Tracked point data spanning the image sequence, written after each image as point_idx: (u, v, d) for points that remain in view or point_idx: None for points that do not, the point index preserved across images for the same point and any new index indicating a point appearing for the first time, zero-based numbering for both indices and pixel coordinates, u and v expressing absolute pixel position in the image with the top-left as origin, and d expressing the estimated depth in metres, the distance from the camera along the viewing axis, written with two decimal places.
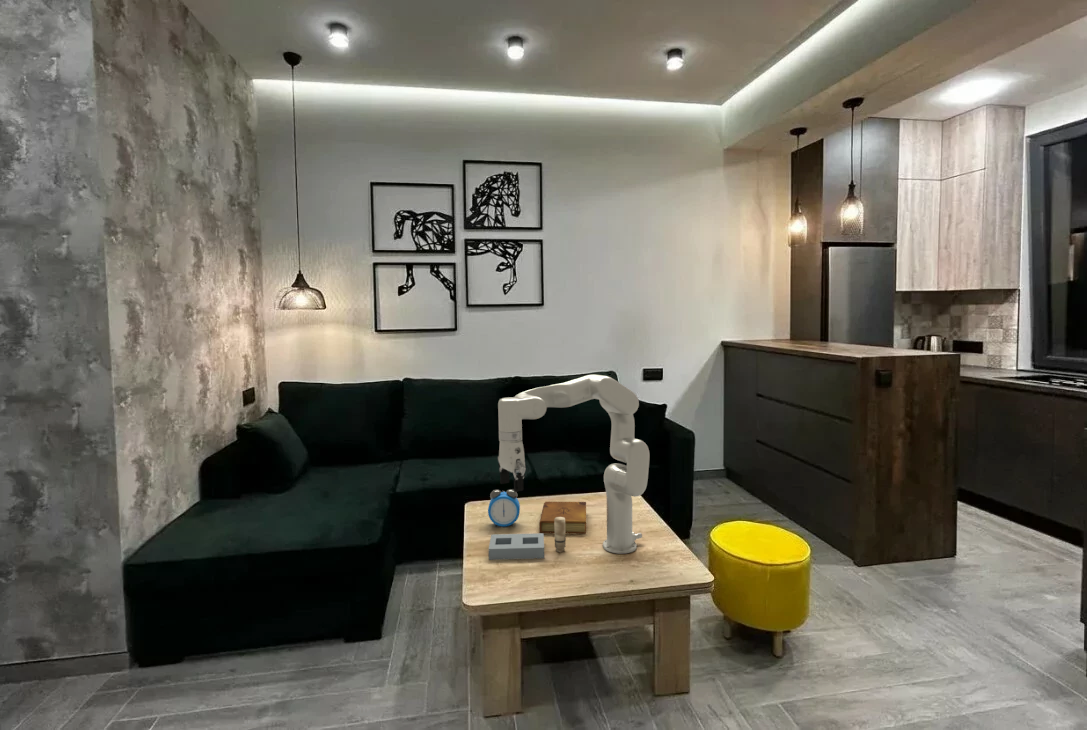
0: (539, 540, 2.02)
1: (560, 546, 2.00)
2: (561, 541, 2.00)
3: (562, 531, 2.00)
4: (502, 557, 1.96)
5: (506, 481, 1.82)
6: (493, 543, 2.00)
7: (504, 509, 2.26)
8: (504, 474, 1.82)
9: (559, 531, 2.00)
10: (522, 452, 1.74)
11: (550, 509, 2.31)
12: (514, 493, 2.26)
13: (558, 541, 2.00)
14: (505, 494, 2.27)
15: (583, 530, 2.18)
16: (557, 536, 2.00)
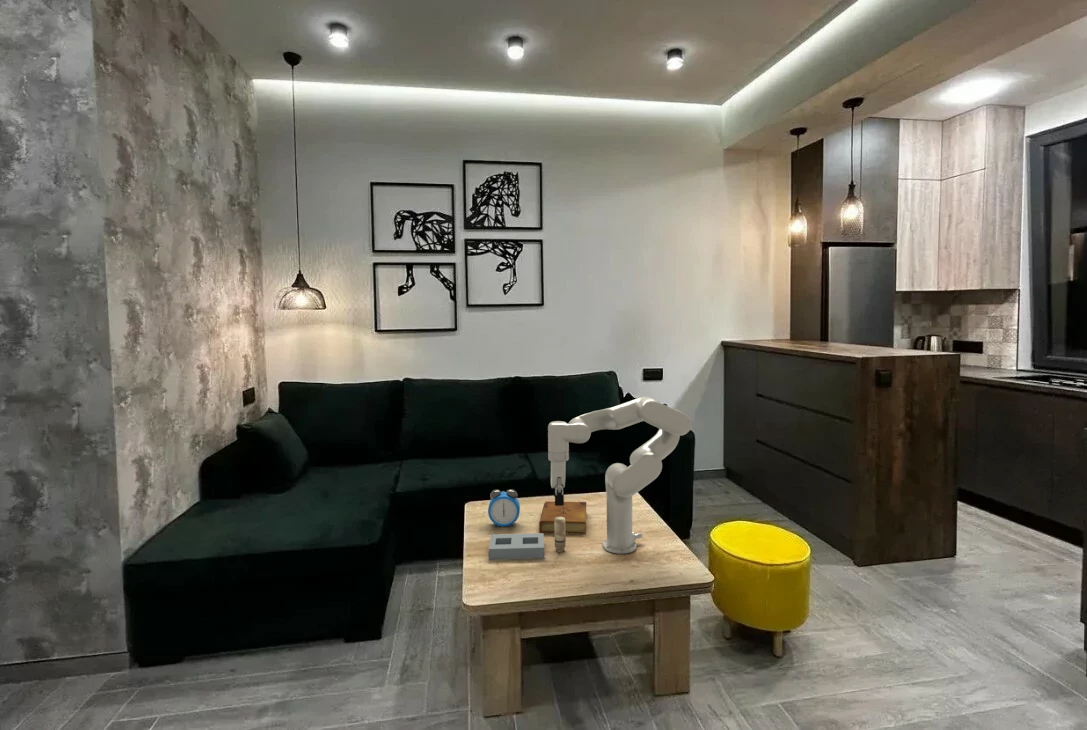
0: (539, 540, 2.02)
1: (560, 546, 2.00)
2: (561, 541, 2.00)
3: (562, 531, 2.00)
4: (502, 557, 1.96)
5: None
6: (493, 543, 2.00)
7: (504, 509, 2.26)
8: None
9: (559, 531, 2.00)
10: None
11: (550, 509, 2.31)
12: (514, 493, 2.26)
13: (558, 541, 2.00)
14: (505, 494, 2.27)
15: (583, 530, 2.18)
16: (557, 536, 2.00)
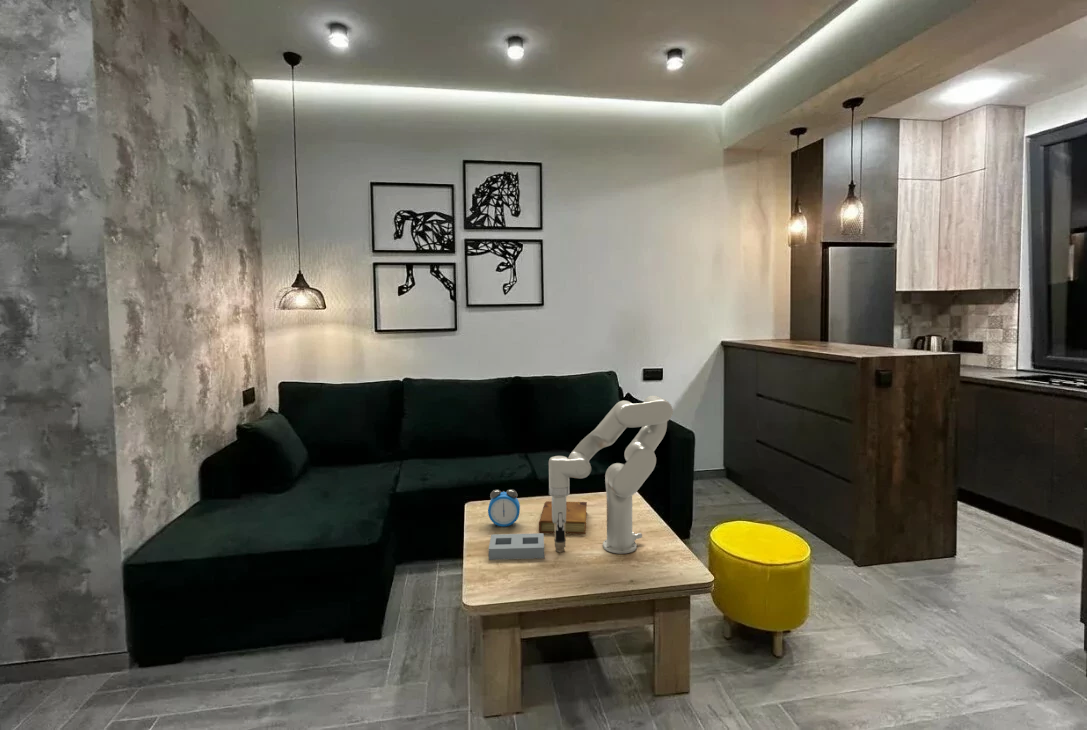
0: (539, 540, 2.02)
1: (560, 546, 2.00)
2: (561, 541, 2.00)
3: None
4: (502, 557, 1.96)
5: None
6: (493, 543, 2.00)
7: (504, 509, 2.26)
8: None
9: None
10: None
11: (550, 509, 2.31)
12: (514, 493, 2.26)
13: (558, 541, 2.00)
14: (505, 494, 2.27)
15: (582, 530, 2.18)
16: None
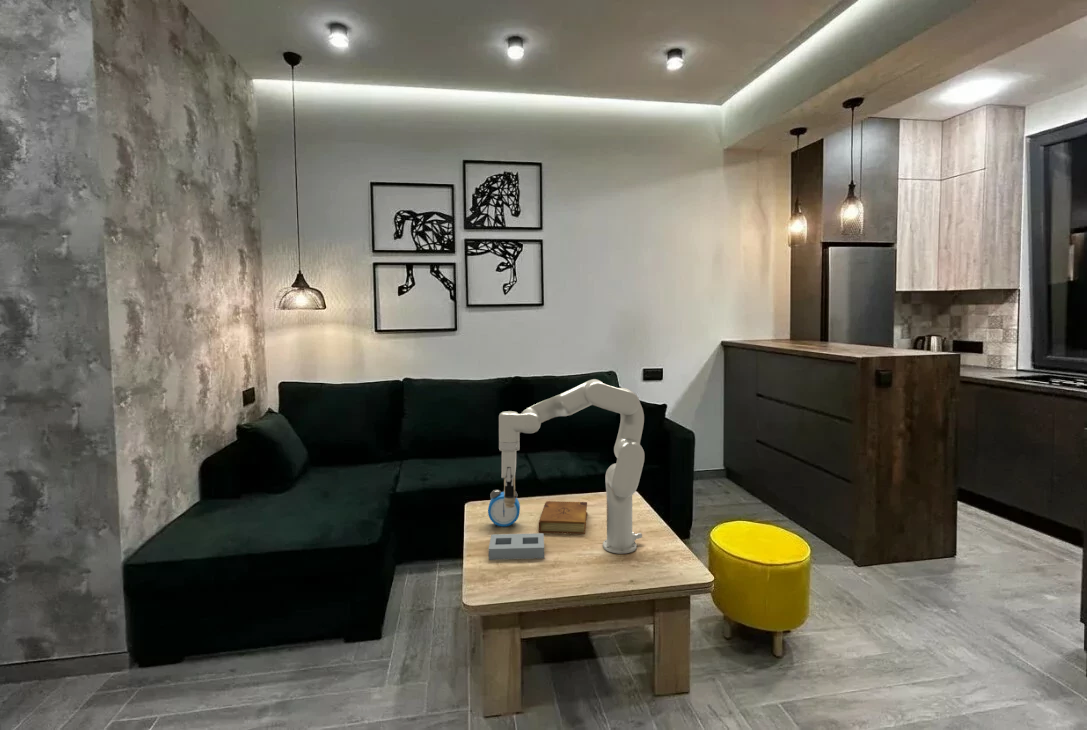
0: (539, 540, 2.02)
1: (509, 502, 1.99)
2: (510, 497, 1.98)
3: None
4: (502, 557, 1.96)
5: None
6: (493, 543, 2.00)
7: (504, 509, 2.26)
8: None
9: None
10: None
11: (550, 509, 2.31)
12: None
13: (507, 497, 1.98)
14: None
15: (582, 530, 2.18)
16: None
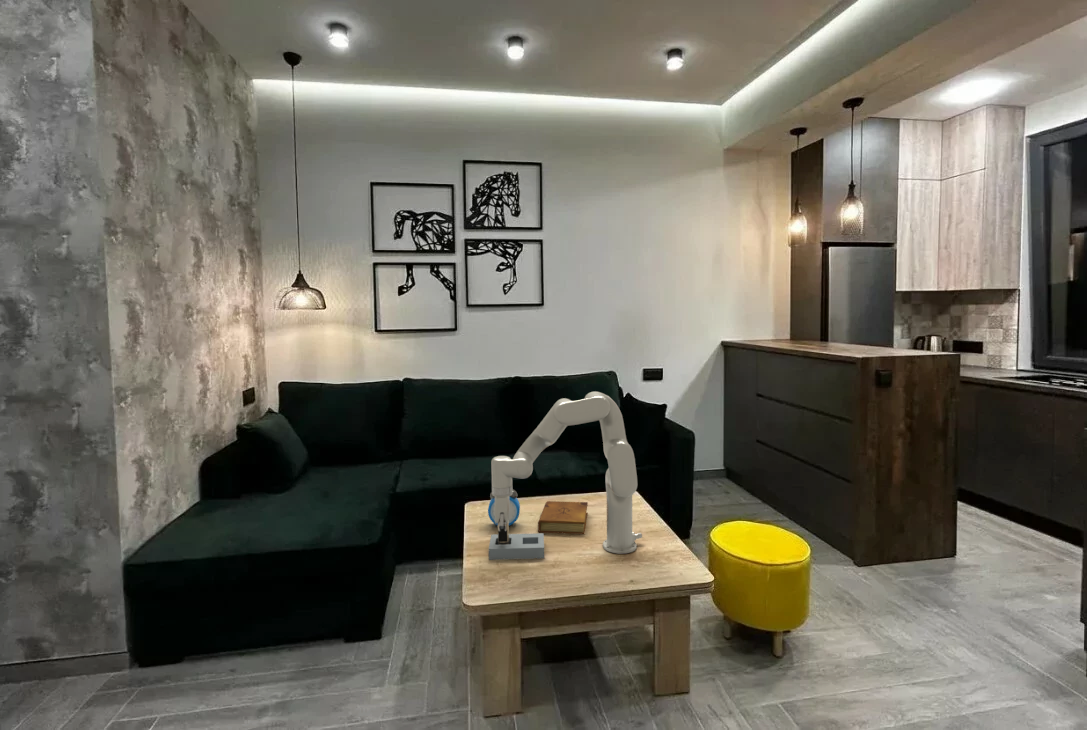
0: (539, 540, 2.02)
1: None
2: (504, 542, 2.00)
3: None
4: (502, 557, 1.96)
5: None
6: (493, 543, 2.00)
7: None
8: None
9: None
10: None
11: (551, 509, 2.31)
12: (514, 493, 2.26)
13: (501, 542, 2.00)
14: None
15: (582, 530, 2.18)
16: None
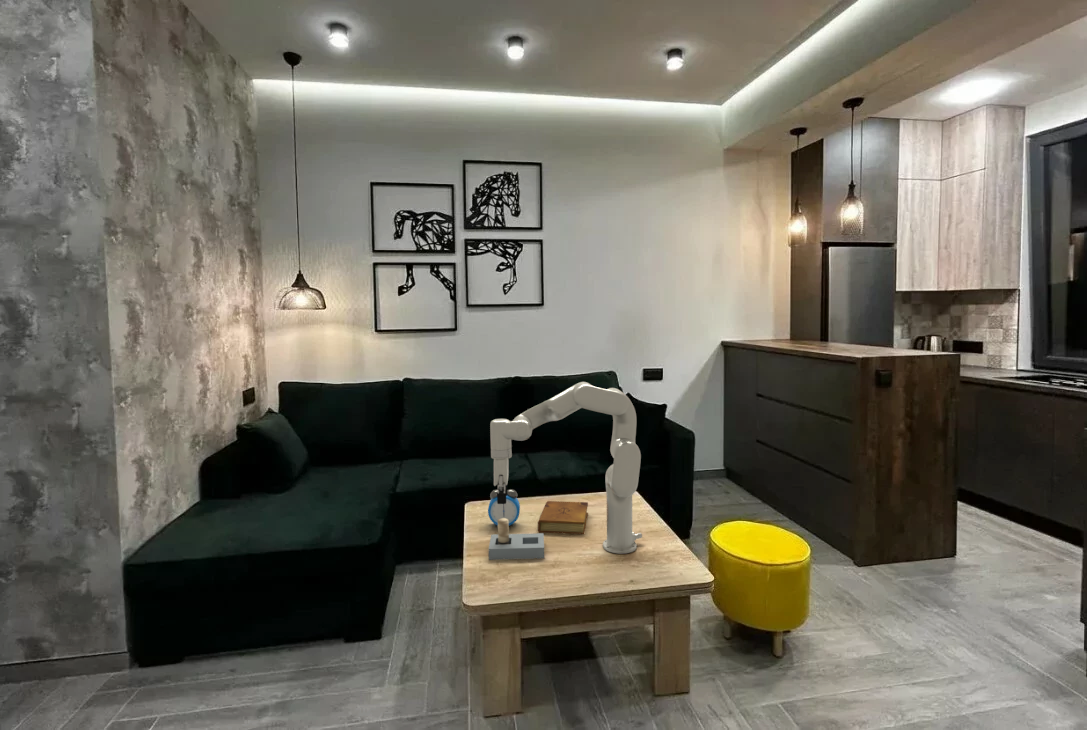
0: (539, 540, 2.02)
1: None
2: (504, 542, 2.00)
3: (505, 532, 2.00)
4: (502, 557, 1.96)
5: None
6: (493, 543, 2.00)
7: (504, 509, 2.26)
8: None
9: (502, 533, 2.00)
10: None
11: (551, 509, 2.31)
12: (514, 493, 2.26)
13: (501, 542, 2.00)
14: None
15: (581, 531, 2.18)
16: (500, 537, 2.00)
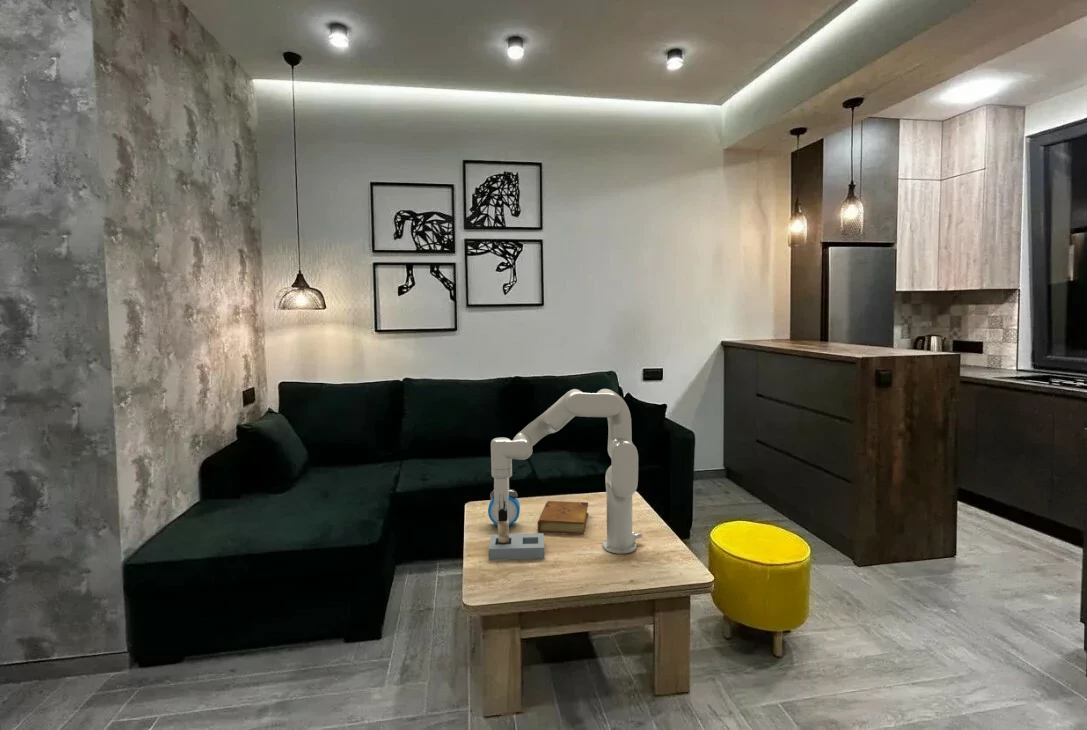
0: (539, 540, 2.02)
1: None
2: (504, 542, 2.00)
3: (505, 532, 2.00)
4: (502, 557, 1.96)
5: None
6: (493, 543, 2.00)
7: None
8: None
9: (502, 533, 2.00)
10: None
11: (551, 509, 2.31)
12: (514, 493, 2.26)
13: (501, 542, 2.00)
14: None
15: (581, 531, 2.18)
16: (500, 537, 2.00)
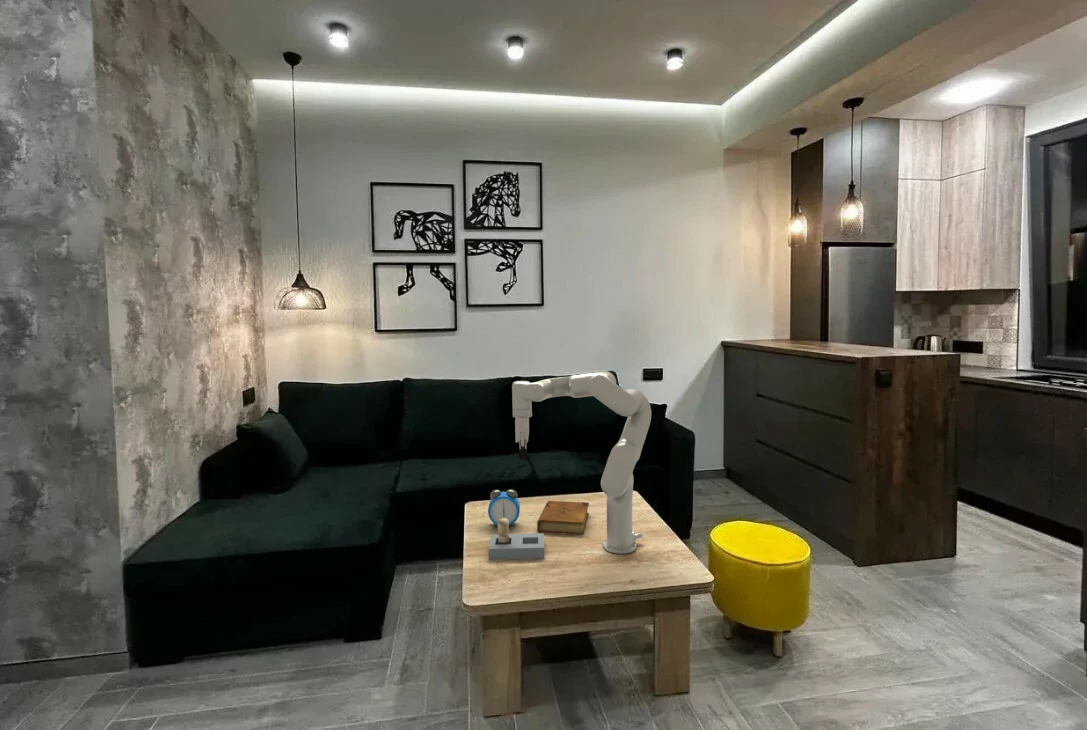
0: (539, 540, 2.02)
1: None
2: (504, 542, 2.00)
3: (505, 532, 2.00)
4: (502, 557, 1.96)
5: None
6: (493, 543, 2.00)
7: (504, 509, 2.26)
8: None
9: (502, 533, 2.00)
10: None
11: (551, 509, 2.31)
12: (514, 493, 2.26)
13: (501, 542, 2.00)
14: (505, 494, 2.27)
15: (581, 531, 2.18)
16: (500, 537, 2.00)
